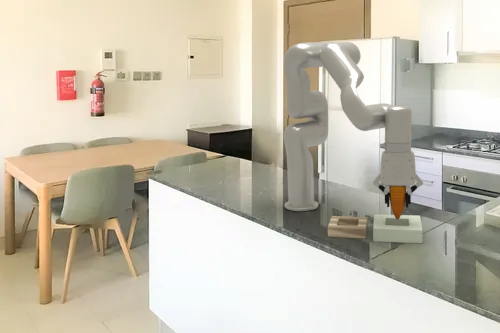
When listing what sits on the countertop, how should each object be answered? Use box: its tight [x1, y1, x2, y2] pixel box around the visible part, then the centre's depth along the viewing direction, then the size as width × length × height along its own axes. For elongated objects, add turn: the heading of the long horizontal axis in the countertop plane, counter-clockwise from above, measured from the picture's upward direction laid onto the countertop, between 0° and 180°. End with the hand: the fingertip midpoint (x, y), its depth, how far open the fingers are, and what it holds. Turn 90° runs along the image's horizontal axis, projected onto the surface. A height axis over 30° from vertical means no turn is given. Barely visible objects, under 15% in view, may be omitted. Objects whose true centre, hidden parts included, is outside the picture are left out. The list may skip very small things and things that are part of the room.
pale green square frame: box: [372, 213, 424, 244], centre depth 158 cm, size 14×14×4 cm
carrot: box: [389, 186, 407, 219], centre depth 156 cm, size 5×5×15 cm
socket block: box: [327, 215, 368, 239], centre depth 163 cm, size 12×12×3 cm
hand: (397, 205), depth 156 cm, fingers closed on carrot, 4 cm apart
